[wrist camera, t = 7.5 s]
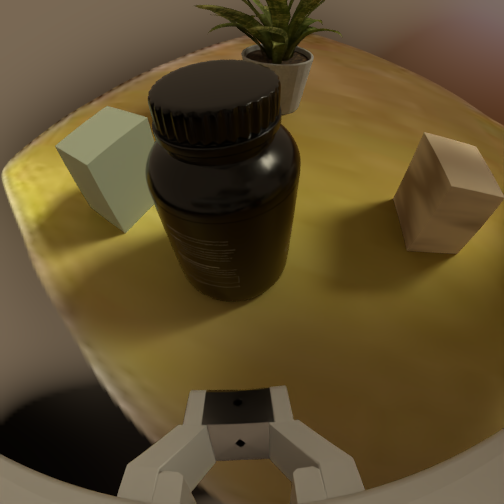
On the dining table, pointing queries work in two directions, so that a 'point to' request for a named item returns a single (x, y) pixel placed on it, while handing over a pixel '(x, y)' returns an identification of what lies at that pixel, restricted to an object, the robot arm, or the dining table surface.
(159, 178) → the supplement bottle
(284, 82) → the house plant
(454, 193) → the oak block
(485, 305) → the dining table surface
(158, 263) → the dining table surface
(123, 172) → the sage block
